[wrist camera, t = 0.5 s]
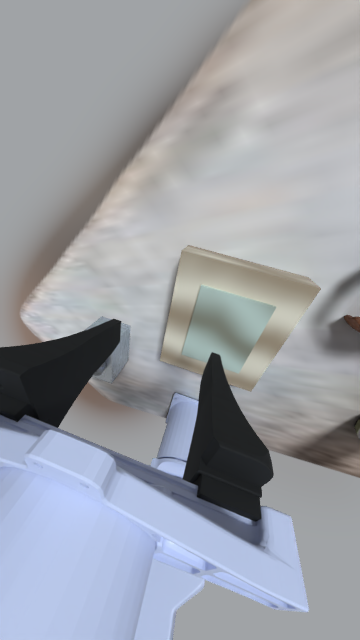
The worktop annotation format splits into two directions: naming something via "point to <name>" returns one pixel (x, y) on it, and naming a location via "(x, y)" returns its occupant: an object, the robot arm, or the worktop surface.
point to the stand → (232, 314)
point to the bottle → (358, 428)
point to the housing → (114, 354)
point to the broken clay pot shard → (353, 322)
